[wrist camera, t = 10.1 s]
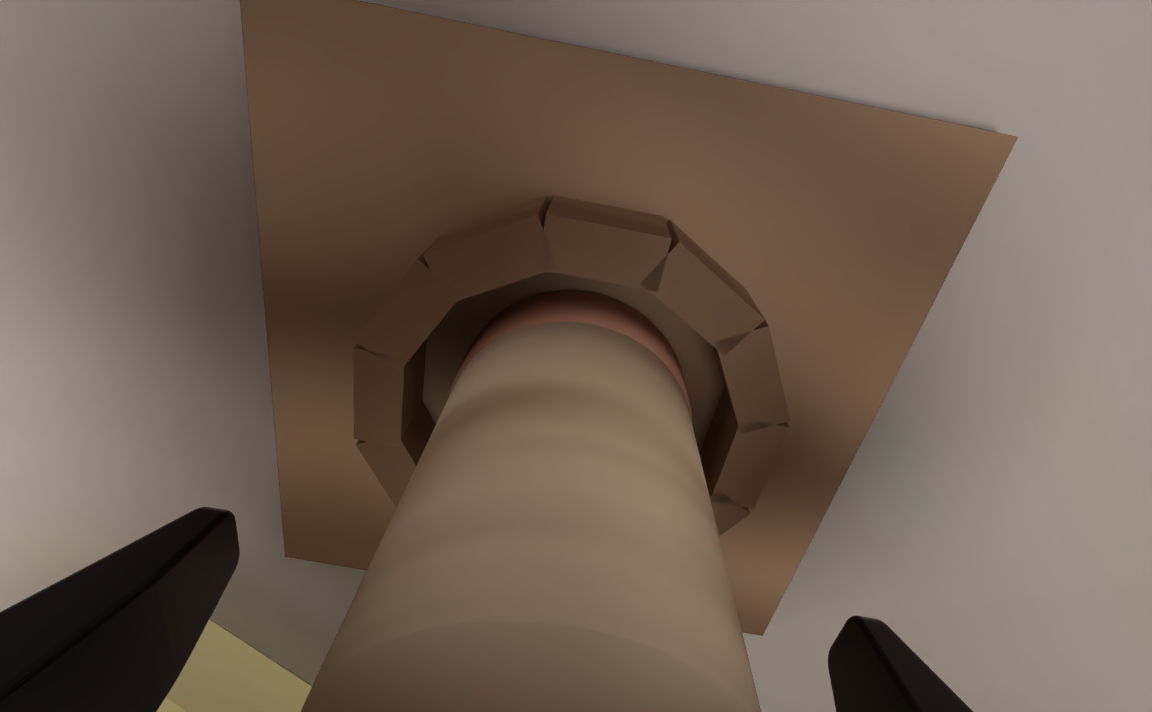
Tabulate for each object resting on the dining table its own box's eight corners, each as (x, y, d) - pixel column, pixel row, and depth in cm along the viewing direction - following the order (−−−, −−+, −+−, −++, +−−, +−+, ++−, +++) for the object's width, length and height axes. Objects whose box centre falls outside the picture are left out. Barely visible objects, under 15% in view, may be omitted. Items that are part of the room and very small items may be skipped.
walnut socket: (757, 618, 17) (777, 688, 15) (295, 540, 17) (254, 604, 15) (997, 133, 11) (1084, 148, 9) (257, -20, 10) (174, -40, 8)
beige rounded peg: (652, 494, 14) (699, 913, 7) (454, 459, 14) (302, 857, 7) (710, 312, 12) (862, 669, 5) (473, 268, 12) (274, 574, 5)
